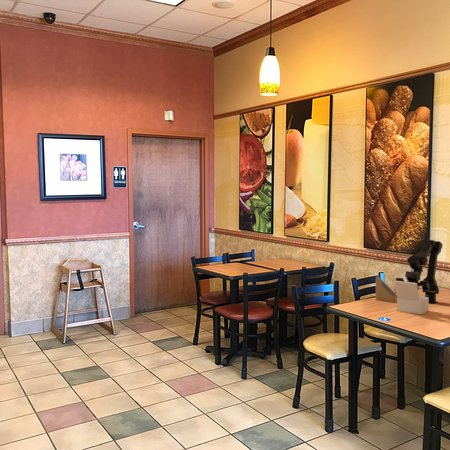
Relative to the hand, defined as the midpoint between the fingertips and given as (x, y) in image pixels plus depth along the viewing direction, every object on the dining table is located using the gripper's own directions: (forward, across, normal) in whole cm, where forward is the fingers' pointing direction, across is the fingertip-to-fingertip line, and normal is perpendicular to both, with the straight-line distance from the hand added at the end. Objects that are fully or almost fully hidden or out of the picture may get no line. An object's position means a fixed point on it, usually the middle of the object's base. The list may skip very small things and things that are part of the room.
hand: (408, 295), depth 284 cm
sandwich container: (-9, -23, +26) cm, 36 cm away
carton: (+3, 0, +12) cm, 13 cm away
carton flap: (-1, 0, -3) cm, 4 cm away
